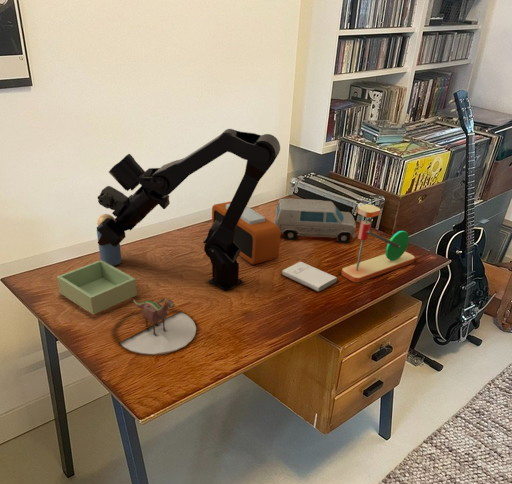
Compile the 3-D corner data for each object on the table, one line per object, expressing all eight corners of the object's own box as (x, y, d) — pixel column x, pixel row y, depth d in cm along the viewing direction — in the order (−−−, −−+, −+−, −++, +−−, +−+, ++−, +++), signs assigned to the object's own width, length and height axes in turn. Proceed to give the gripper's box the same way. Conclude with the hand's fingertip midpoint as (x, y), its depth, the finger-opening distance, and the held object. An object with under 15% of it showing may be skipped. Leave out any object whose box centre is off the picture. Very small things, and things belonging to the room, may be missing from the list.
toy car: (354, 243, 161) (359, 212, 156) (274, 239, 161) (276, 208, 155) (349, 229, 170) (354, 199, 164) (273, 225, 169) (275, 195, 164)
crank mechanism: (355, 283, 141) (368, 215, 130) (338, 273, 145) (349, 206, 134) (416, 261, 154) (432, 197, 143) (399, 252, 158) (413, 190, 147)
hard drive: (318, 292, 136) (281, 275, 143) (336, 282, 141) (300, 265, 148) (318, 287, 135) (282, 269, 142) (337, 276, 140) (301, 260, 147)
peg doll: (123, 264, 140) (117, 217, 132) (102, 266, 138) (95, 219, 130) (120, 255, 144) (115, 209, 136) (99, 257, 142) (93, 211, 134)
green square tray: (137, 298, 129) (135, 278, 126) (93, 318, 121) (90, 297, 118) (103, 278, 136) (101, 259, 133) (60, 296, 128) (56, 276, 125)
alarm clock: (211, 234, 161) (211, 198, 155) (234, 229, 165) (235, 194, 159) (254, 267, 146) (256, 229, 139) (278, 260, 150) (282, 223, 143)
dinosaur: (212, 333, 119) (212, 291, 112) (145, 365, 108) (141, 321, 102) (164, 300, 129) (162, 261, 122) (99, 327, 118) (93, 285, 112)
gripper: (131, 166, 134) (96, 203, 142) (99, 191, 120) (62, 230, 127) (162, 200, 138) (126, 234, 146) (135, 228, 123) (97, 264, 131)
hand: (103, 239), depth 137 cm, fingers closed on peg doll, 5 cm apart
